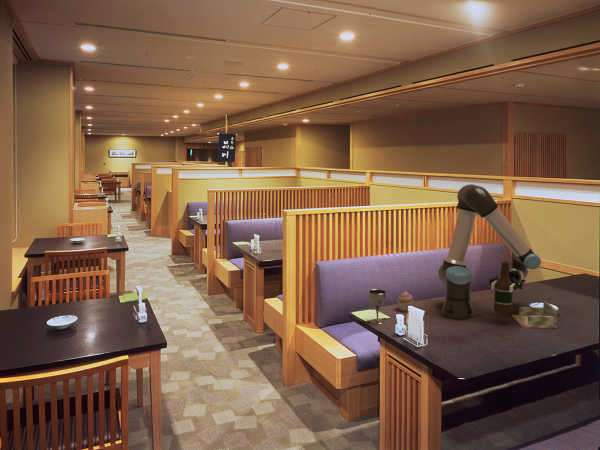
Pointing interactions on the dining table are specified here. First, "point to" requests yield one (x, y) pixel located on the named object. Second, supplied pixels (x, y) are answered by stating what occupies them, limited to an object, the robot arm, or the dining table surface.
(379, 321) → the wine glass
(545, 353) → the dining table surface
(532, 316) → the wooden display stand
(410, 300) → the cupcake
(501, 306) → the beer bottle
